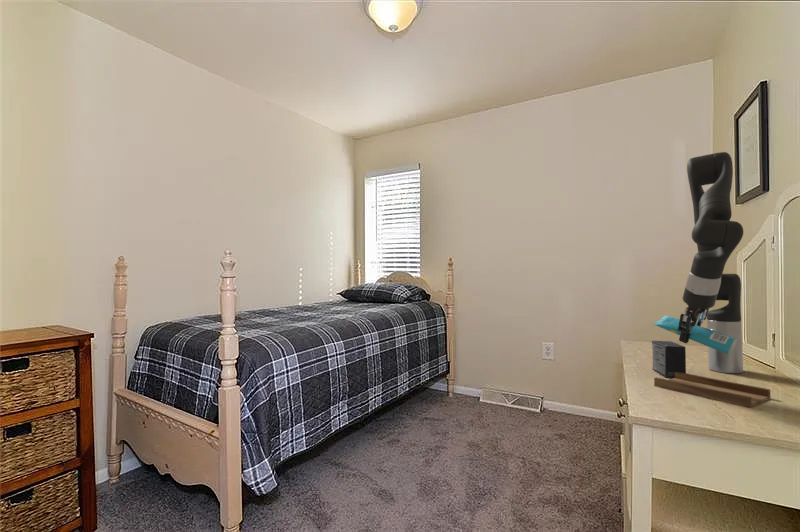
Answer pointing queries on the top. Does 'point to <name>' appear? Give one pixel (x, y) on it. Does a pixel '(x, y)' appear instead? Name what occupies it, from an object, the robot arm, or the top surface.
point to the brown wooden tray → (715, 389)
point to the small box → (668, 358)
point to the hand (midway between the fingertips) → (688, 337)
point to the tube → (701, 335)
